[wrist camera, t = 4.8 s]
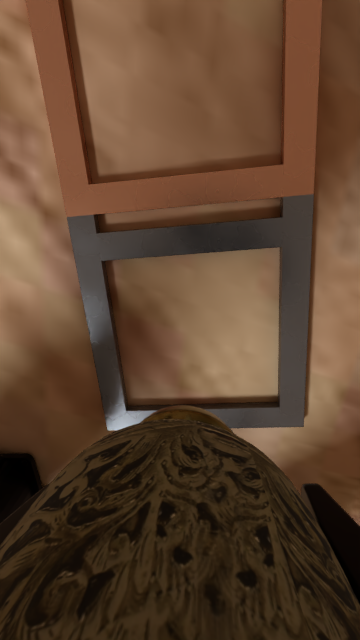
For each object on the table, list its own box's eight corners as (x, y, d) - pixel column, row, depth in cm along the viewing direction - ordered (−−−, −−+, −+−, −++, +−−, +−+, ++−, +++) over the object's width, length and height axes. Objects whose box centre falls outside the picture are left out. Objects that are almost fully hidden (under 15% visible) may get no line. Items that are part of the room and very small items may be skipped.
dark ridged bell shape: (342, 382, 9) (873, 1074, 2) (253, 547, 12) (331, 1130, 4) (98, 308, 9) (-366, 734, 2) (59, 491, 12) (-200, 989, 4)
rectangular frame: (300, 421, 21) (303, 426, 21) (110, 424, 23) (107, 430, 22) (324, -162, 13) (330, -179, 12) (12, -97, 14) (4, -110, 13)
